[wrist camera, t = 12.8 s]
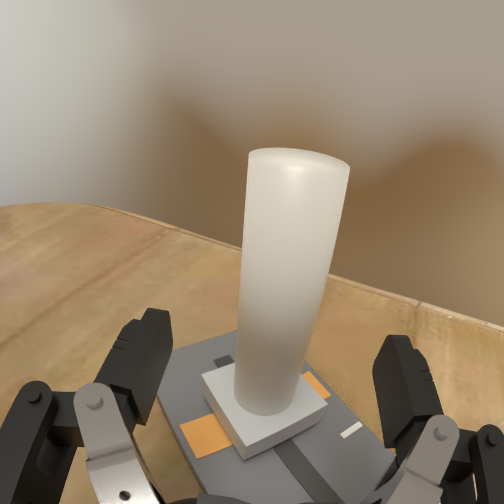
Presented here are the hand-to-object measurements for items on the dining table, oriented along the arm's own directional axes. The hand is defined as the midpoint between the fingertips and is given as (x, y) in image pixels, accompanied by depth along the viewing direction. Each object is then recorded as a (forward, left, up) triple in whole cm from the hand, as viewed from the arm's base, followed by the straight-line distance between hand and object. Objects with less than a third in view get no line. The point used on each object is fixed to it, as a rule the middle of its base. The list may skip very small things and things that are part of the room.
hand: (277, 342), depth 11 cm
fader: (-2, +1, -8) cm, 8 cm away
